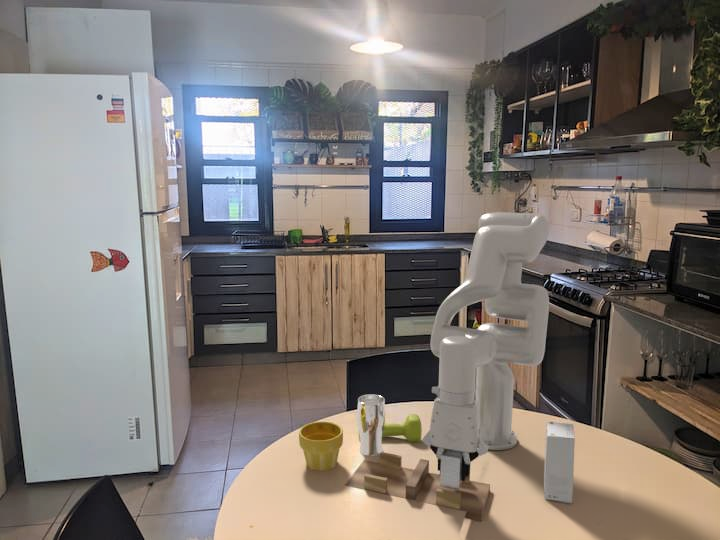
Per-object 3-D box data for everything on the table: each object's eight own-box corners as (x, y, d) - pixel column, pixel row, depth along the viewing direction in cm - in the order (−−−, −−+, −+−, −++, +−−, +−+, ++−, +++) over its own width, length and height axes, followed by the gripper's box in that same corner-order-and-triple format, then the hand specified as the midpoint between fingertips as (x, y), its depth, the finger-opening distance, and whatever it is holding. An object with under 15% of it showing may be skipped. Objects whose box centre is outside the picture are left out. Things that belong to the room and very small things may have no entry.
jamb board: (363, 465, 136) (364, 448, 135) (489, 490, 125) (490, 472, 125) (344, 491, 125) (344, 472, 124) (481, 521, 114) (481, 501, 114)
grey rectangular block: (448, 468, 126) (449, 439, 125) (466, 472, 124) (467, 442, 123) (439, 486, 118) (441, 455, 117) (458, 490, 117) (460, 458, 116)
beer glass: (382, 464, 137) (383, 406, 134) (354, 461, 138) (354, 403, 135) (386, 450, 143) (387, 395, 141) (360, 448, 145) (360, 392, 142)
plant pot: (302, 482, 129) (301, 442, 127) (297, 460, 139) (296, 422, 137) (346, 477, 131) (346, 438, 129) (339, 455, 141) (338, 419, 139)
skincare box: (572, 504, 120) (577, 439, 118) (542, 499, 122) (546, 435, 119) (570, 484, 128) (574, 423, 126) (542, 479, 130) (546, 419, 127)
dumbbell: (358, 450, 144) (358, 423, 143) (358, 435, 152) (358, 410, 151) (422, 449, 144) (423, 423, 143) (419, 435, 152) (419, 410, 151)
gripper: (413, 395, 118) (411, 477, 121) (494, 408, 112) (490, 492, 115) (422, 383, 125) (420, 460, 128) (499, 394, 119) (495, 475, 122)
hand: (453, 475), depth 121 cm, fingers closed on grey rectangular block, 4 cm apart
